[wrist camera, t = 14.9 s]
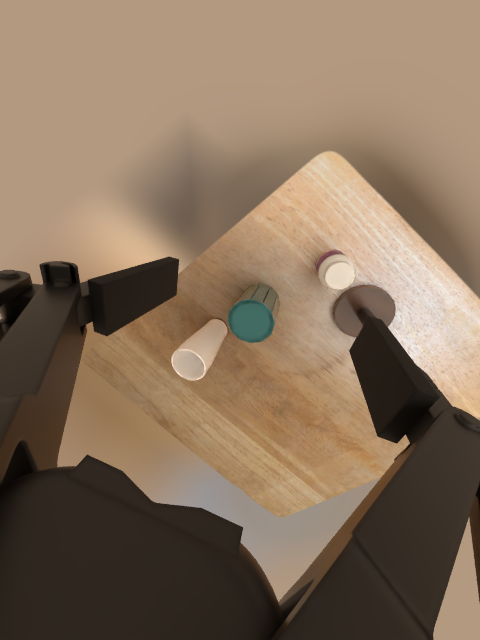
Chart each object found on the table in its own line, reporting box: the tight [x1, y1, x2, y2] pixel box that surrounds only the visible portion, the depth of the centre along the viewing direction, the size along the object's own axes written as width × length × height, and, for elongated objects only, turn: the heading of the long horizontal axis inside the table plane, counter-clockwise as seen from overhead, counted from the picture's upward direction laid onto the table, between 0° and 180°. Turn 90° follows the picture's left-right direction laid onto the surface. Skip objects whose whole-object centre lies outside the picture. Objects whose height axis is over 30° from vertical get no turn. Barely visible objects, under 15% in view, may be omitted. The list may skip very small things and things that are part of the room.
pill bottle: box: [316, 250, 356, 290], centre depth 35 cm, size 5×5×10 cm
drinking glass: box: [171, 319, 227, 380], centre depth 44 cm, size 7×7×15 cm
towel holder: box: [334, 285, 395, 337], centre depth 32 cm, size 10×10×20 cm
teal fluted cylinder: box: [228, 284, 280, 343], centre depth 41 cm, size 8×8×10 cm
